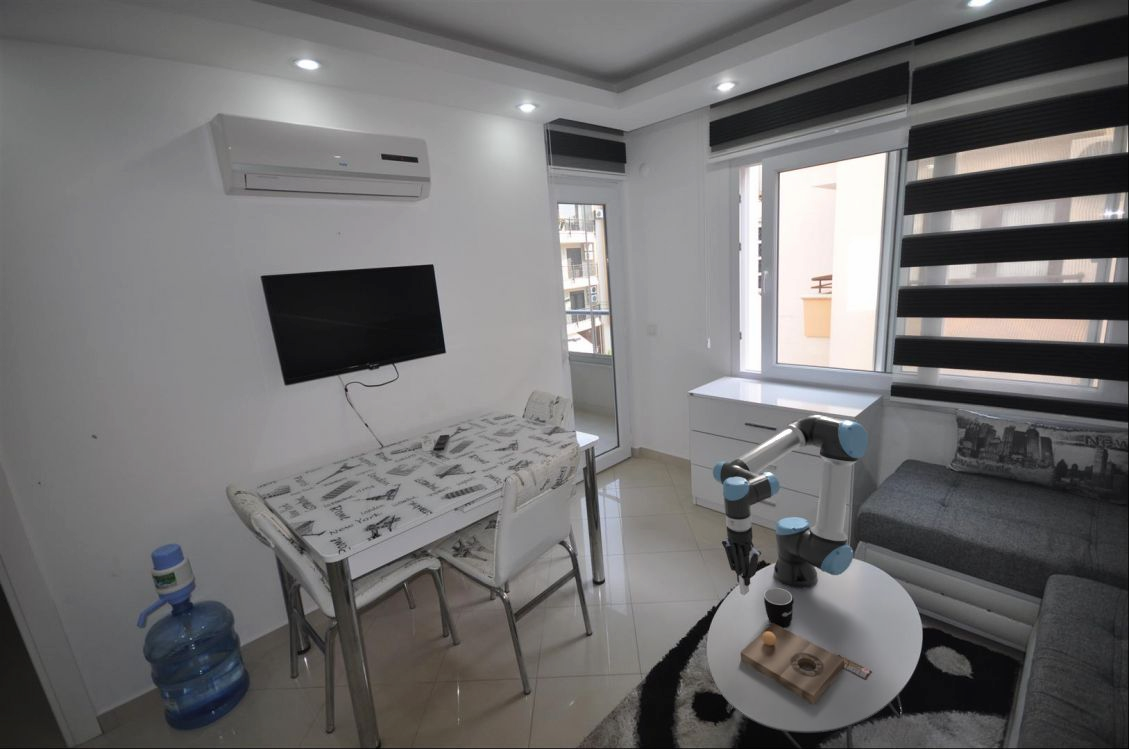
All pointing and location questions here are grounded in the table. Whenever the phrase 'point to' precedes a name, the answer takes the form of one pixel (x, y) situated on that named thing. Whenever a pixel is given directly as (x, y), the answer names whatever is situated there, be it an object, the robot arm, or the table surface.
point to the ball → (769, 638)
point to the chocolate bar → (856, 669)
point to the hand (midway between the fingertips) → (744, 592)
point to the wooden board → (793, 662)
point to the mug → (779, 606)
